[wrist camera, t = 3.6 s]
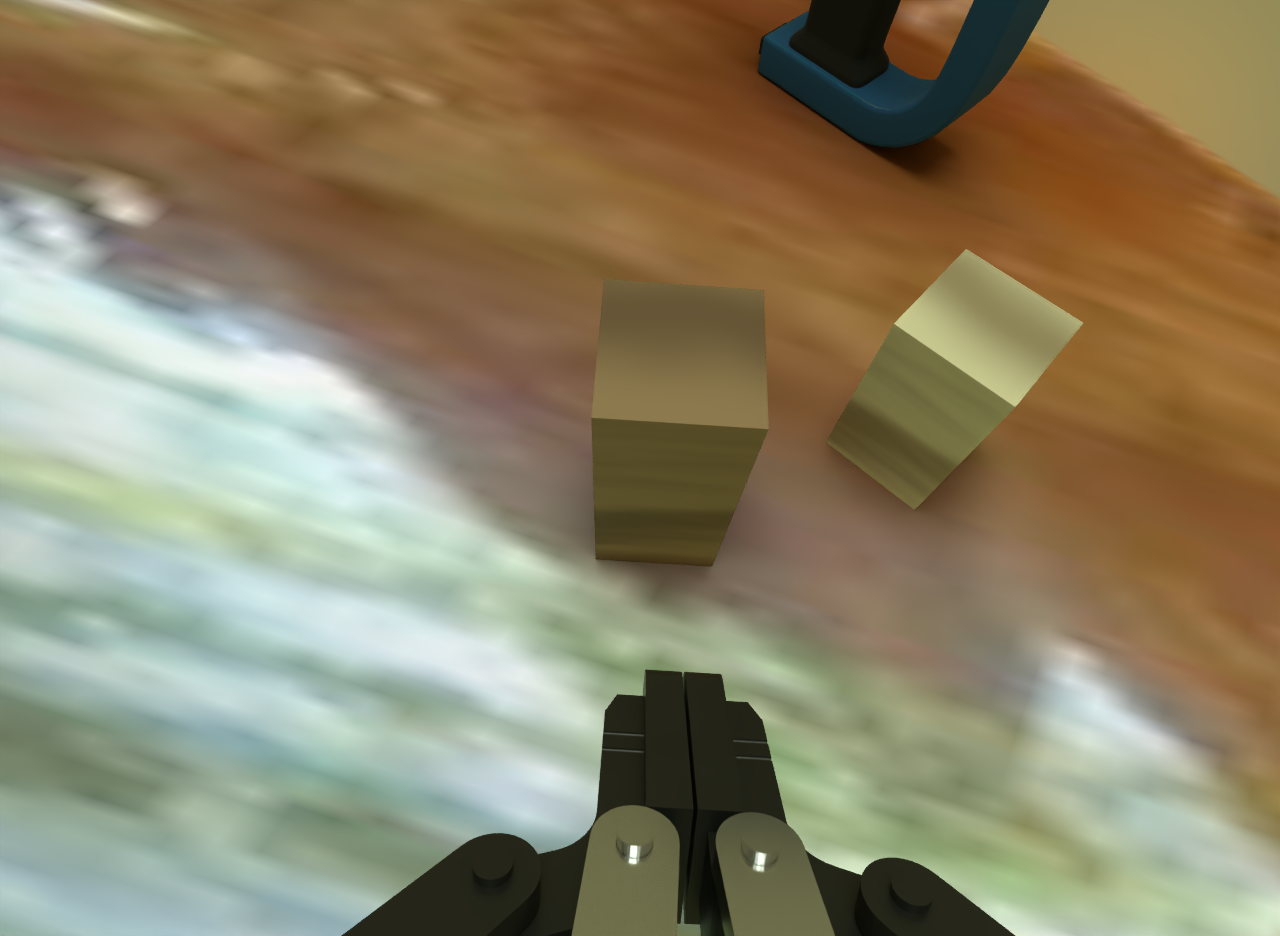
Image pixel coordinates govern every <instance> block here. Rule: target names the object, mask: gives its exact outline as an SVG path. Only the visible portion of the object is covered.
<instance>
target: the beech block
mask: <svg viewBox="0 0 1280 936" xmlns="http://www.w3.org/2000/svg"><path fill="white" fill-rule="evenodd" d="M1082 324H1083V323H1082V322H1081V321H1079V320H1078V319H1076V318H1074V317H1073V316H1071V315H1070V314H1068V313H1067V312H1065V311H1063V310H1062V309H1060V308H1059V307H1057V306H1055V305H1054V304H1052V303H1051V302H1049V301H1048V300H1046V299H1044V298H1043V297H1041V296H1040V295H1038V294H1036V293H1035V292H1033V291H1032V290H1030V289H1029V288H1027V287H1025V286H1024V285H1022V284H1021V283H1019V282H1017V281H1016V280H1014V279H1013V278H1011V277H1010V276H1008V275H1006V274H1005V273H1003V272H1002V271H1000V270H998V269H997V268H995V267H994V266H992V265H991V264H989V263H987V262H986V261H984V260H983V259H981V258H979V257H978V256H976V255H975V254H973V253H972V252H970V251H968V250H967V249H966V250H965V251H964V252H963V253H962V254H961V255H960V256H959V257H958V258H957V259H956V260H955V261H954V262H953V263H952V264H951V265H950V266H949V267H948V268H947V269H946V271H945V272H944V273H943V274H942V275H941V276H940V277H939V278H938V279H937V280H936V281H935V282H934V283H933V284H932V285H931V286H930V287H929V288H928V289H927V290H926V291H925V292H924V293H923V294H922V295H921V296H920V297H919V298H918V299H917V301H916V302H915V303H914V304H913V305H912V306H911V307H910V308H909V309H908V310H907V311H906V312H905V313H904V314H903V315H902V316H901V317H900V318H899V319H898V320H897V321H896V322H895V323H894V325H893V326H892V328H891V330H890V332H889V333H888V335H887V337H886V339H885V340H884V342H883V344H882V346H881V347H880V349H879V351H878V353H877V354H876V356H875V358H874V359H873V361H872V363H871V365H870V366H869V368H868V370H867V372H866V373H865V375H864V377H863V379H862V380H861V382H860V384H859V386H858V387H857V389H856V391H855V393H854V394H853V396H852V398H851V400H850V401H849V403H848V405H847V406H846V408H845V410H844V412H843V413H842V415H841V417H840V419H839V420H838V422H837V424H836V426H835V427H834V429H833V431H832V433H831V434H830V436H829V438H828V440H827V441H826V443H827V444H829V445H830V446H831V447H833V448H834V449H835V450H836V451H838V452H839V453H840V454H842V455H843V456H844V457H846V458H847V459H848V460H850V461H851V462H852V463H853V464H855V465H856V466H857V467H859V468H860V469H861V470H863V471H864V472H865V473H867V474H868V475H869V476H871V477H872V478H873V479H874V480H876V481H877V482H878V483H880V484H881V485H882V486H884V487H885V488H886V489H888V490H889V491H890V492H891V493H893V494H894V495H895V496H897V497H898V498H899V499H901V500H902V501H903V502H905V503H906V504H907V505H908V506H910V507H911V508H912V509H914V510H915V509H916V508H917V507H918V506H919V505H920V504H921V503H922V502H923V501H924V500H925V499H926V498H927V497H928V496H929V495H930V494H931V493H932V492H933V491H934V490H935V489H936V488H937V487H938V486H939V485H940V484H941V483H942V482H943V481H944V480H945V479H946V477H947V476H948V475H949V474H950V473H951V472H952V471H953V470H954V469H955V468H956V467H957V466H958V465H959V464H960V463H961V462H962V461H963V460H964V459H965V458H966V457H967V456H968V455H969V454H970V453H971V452H972V451H973V450H974V449H975V448H976V447H977V446H978V445H979V444H980V443H981V442H982V441H983V440H984V439H985V438H986V437H987V436H988V435H989V433H990V432H991V431H992V430H993V429H994V428H995V427H996V426H997V425H998V424H999V423H1000V422H1001V421H1002V420H1003V419H1004V418H1005V417H1006V416H1007V415H1008V414H1009V413H1010V412H1011V411H1012V410H1013V409H1014V408H1015V407H1016V406H1017V404H1018V403H1019V402H1020V401H1021V399H1022V398H1023V397H1024V396H1025V394H1026V393H1027V392H1028V391H1029V390H1030V388H1031V387H1032V386H1033V385H1034V383H1035V382H1036V381H1037V380H1038V378H1039V377H1040V376H1041V375H1042V373H1043V372H1044V371H1045V370H1046V368H1047V367H1048V366H1049V365H1050V363H1051V362H1052V361H1053V360H1054V359H1055V357H1056V356H1057V355H1058V354H1059V352H1060V351H1061V350H1062V349H1063V347H1064V346H1065V345H1066V344H1067V342H1068V341H1069V340H1070V339H1071V337H1072V336H1073V335H1074V334H1075V333H1076V331H1077V330H1078V329H1079V328H1080V326H1081V325H1082Z"/></svg>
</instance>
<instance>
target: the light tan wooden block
mask: <svg viewBox="0 0 1280 936" xmlns="http://www.w3.org/2000/svg"><path fill="white" fill-rule="evenodd" d="M591 419H592V452H593V485H594V518H595V552H596V559H602V560H618V561H634V562H651V563H667V564H684V565H700V566H712V565H713V562H714V560H715V557H716V555H717V552H718V550H719V548H720V545H721V543H722V540H723V538H724V536H725V533H726V531H727V528H728V526H729V523H730V521H731V519H732V516H733V514H734V511H735V509H736V507H737V504H738V502H739V499H740V497H741V494H742V492H743V490H744V487H745V485H746V482H747V480H748V478H749V475H750V473H751V470H752V468H753V465H754V463H755V461H756V458H757V456H758V453H759V451H760V449H761V446H762V444H763V441H764V439H765V436H766V434H767V432H768V429H769V428H768V400H767V371H766V343H765V314H764V290H756V289H741V288H726V287H712V286H697V285H682V284H668V283H653V282H638V281H624V280H609V279H604V285H603V296H602V307H601V318H600V329H599V340H598V351H597V362H596V373H595V384H594V395H593V406H592V417H591Z"/></svg>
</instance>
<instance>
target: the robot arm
mask: <svg viewBox="0 0 1280 936" xmlns="http://www.w3.org/2000/svg"><path fill="white" fill-rule="evenodd" d="M682 905H683V907H684V924H700V928H701V936H1015V935H1014V934H1012V933H1011V932H1010V931H1009V930H1007V929H1006V928H1005V927H1003V926H1002V925H1001V924H999V923H998V922H997V921H996V920H994V919H993V918H992V917H990V916H989V915H988V914H987V913H985V912H984V911H983V910H981V909H980V908H979V907H978V906H976V905H975V904H974V903H972V902H971V901H970V900H968V899H967V898H966V897H965V896H963V895H962V894H961V893H959V892H958V891H957V890H956V889H954V888H953V887H952V886H950V885H949V884H948V883H947V882H945V881H944V880H943V879H941V878H940V877H939V876H937V875H936V874H935V873H933V872H932V871H930V870H929V869H927V868H925V867H924V866H922V865H920V864H917V863H915V862H913V861H909V860H906V859H900V858H883V859H879V860H876V861H874V862H872V863H871V864H869V865H868V866H867V867H866V868H865V870H864V872H863V874H862V875H859V874H856V873H853V872H850V871H847V870H844V869H841V868H838V867H835V866H833V865H830V864H828V863H825V862H823V861H821V860H819V859H818V858H816V857H814V856H813V855H811V854H810V853H809V852H807V851H806V850H805V848H804V845H803V843H802V841H801V839H800V838H799V836H798V835H797V834H796V832H795V831H794V830H793V829H792V828H791V827H789V826H788V825H787V822H786V818H785V813H784V809H783V805H782V801H781V797H780V792H779V788H778V784H777V780H776V776H775V771H774V767H773V763H772V761H771V754H770V750H769V746H768V744H767V738H766V733H765V729H764V725H763V721H762V719H761V718H760V717H759V716H758V714H757V713H756V712H755V711H754V710H753V708H752V707H751V706H750V705H749V703H748V702H735V701H726V697H725V691H724V685H723V679H722V675H721V674H710V673H694V672H684V674H683V678H682V672H675V671H659V670H645V675H644V686H643V696H635V695H618V694H617V696H616V697H615V698H614V700H613V701H612V702H611V704H610V705H609V706H608V708H607V709H606V710H605V718H604V731H603V743H602V756H601V768H600V781H599V793H598V805H597V814H596V818H595V821H594V823H593V825H592V827H591V828H590V830H589V831H588V832H587V833H586V834H585V835H584V836H583V837H582V838H581V839H579V840H578V841H576V842H575V843H573V844H571V845H569V846H567V847H565V848H562V849H558V850H555V851H550V852H546V853H542V854H537V852H536V851H535V849H534V848H533V847H532V846H531V845H530V844H529V843H528V842H526V841H525V840H523V839H521V838H519V837H517V836H514V835H510V834H503V833H494V834H487V835H482V836H479V837H476V838H474V839H472V840H470V841H468V842H466V843H465V844H463V845H462V846H460V847H459V848H458V849H456V850H455V851H454V852H452V853H451V854H450V855H448V856H447V857H446V858H444V859H443V860H442V861H440V862H439V863H438V864H436V865H435V866H434V867H432V868H431V869H430V870H428V871H427V872H426V873H424V874H423V875H422V876H420V877H419V878H418V879H416V880H415V881H414V882H412V883H411V884H410V885H408V886H407V887H406V888H404V889H403V890H402V891H400V892H399V893H398V894H396V895H395V896H394V897H392V898H391V899H390V900H388V901H387V902H386V903H384V904H383V905H382V906H380V907H379V908H378V909H377V910H375V911H374V912H373V913H371V914H370V915H369V916H367V917H366V918H365V919H363V920H362V921H361V922H359V923H358V924H357V925H355V926H354V927H353V928H351V929H350V930H349V931H347V932H346V933H345V934H343V935H342V936H676V935H677V924H680V922H681V914H682Z"/></svg>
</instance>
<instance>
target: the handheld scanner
mask: <svg viewBox="0 0 1280 936" xmlns="http://www.w3.org/2000/svg"><path fill="white" fill-rule="evenodd" d="M900 1H901V0H812V2H811V5H810V9H809V12H805V13H803V14H802V15H800V16H798V17H797V18H795V19H793V20H791V21H790V22H788V23H784V24H783V25H781V26H779V27H778V28H776V29H774V30H773V31H771V32H769V33H768V34H766V35H764V36H763V37H762V38H761V44H760V49H759V54H760V55H761V56H760V61H759V68H758V71H759V72H760V73H761V74H762V75H764V76H765V77H766V78H768V79H769V80H771V81H772V82H774V83H775V84H777V85H778V86H780V87H781V88H782V89H784V90H785V91H787V92H788V93H790V94H791V95H793V96H794V97H795V98H797V99H798V100H800V101H801V102H803V103H804V104H806V105H807V106H809V107H810V108H811V109H813V110H814V111H816V112H817V113H819V114H820V115H822V116H823V117H825V118H826V119H827V120H829V121H830V122H832V123H833V124H835V125H836V126H838V127H839V128H840V129H842V130H843V131H845V132H846V133H848V134H849V135H851V136H852V137H854V138H855V139H857V140H859V141H862V142H864V143H866V144H870V145H874V146H879V147H896V148H899V147H904V146H909V145H914V144H918V143H920V142H922V141H924V140H926V139H928V138H930V137H933V136H935V135H936V134H938V133H939V132H940V131H942V130H943V129H944V128H946V127H947V126H948V125H950V124H951V123H952V122H954V121H955V120H956V119H958V118H959V117H960V116H962V115H963V114H964V113H966V112H967V111H968V110H969V109H971V108H972V107H973V106H975V105H976V104H977V103H978V102H980V101H981V100H982V99H983V98H985V97H986V96H987V95H988V94H989V93H991V91H992V90H993V89H994V88H995V87H996V85H997V84H998V83H999V82H1000V81H1001V80H1002V78H1003V77H1004V76H1005V75H1006V73H1007V72H1008V70H1009V69H1010V67H1011V66H1012V64H1013V63H1014V61H1015V60H1016V58H1017V57H1018V55H1019V54H1020V52H1021V51H1022V49H1023V47H1024V45H1025V44H1026V42H1027V40H1028V38H1029V36H1030V35H1031V33H1032V31H1033V29H1034V28H1035V26H1036V24H1037V22H1038V20H1039V19H1040V17H1041V15H1042V13H1043V11H1044V9H1045V8H1046V6H1047V4H1048V2H1049V0H974V1H973V4H972V6H971V8H970V10H969V13H968V15H967V17H966V19H965V22H964V24H963V26H962V29H961V31H960V33H959V35H958V37H957V39H956V42H955V44H954V46H953V48H952V50H951V53H950V55H949V57H948V59H947V61H946V63H945V65H944V67H943V69H942V71H941V73H940V75H939V76H938V78H937V79H936V80H925V79H919V78H916V77H914V76H912V75H909V74H907V73H906V72H904V71H903V70H901V69H899V68H898V67H896V66H895V65H893V64H892V63H890V62H889V58H888V56H887V54H886V52H885V50H884V46H883V45H884V43H885V40H886V37H887V34H888V31H889V29H890V26H891V24H892V21H893V19H894V16H895V14H896V11H897V9H898V6H899V3H900Z"/></svg>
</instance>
